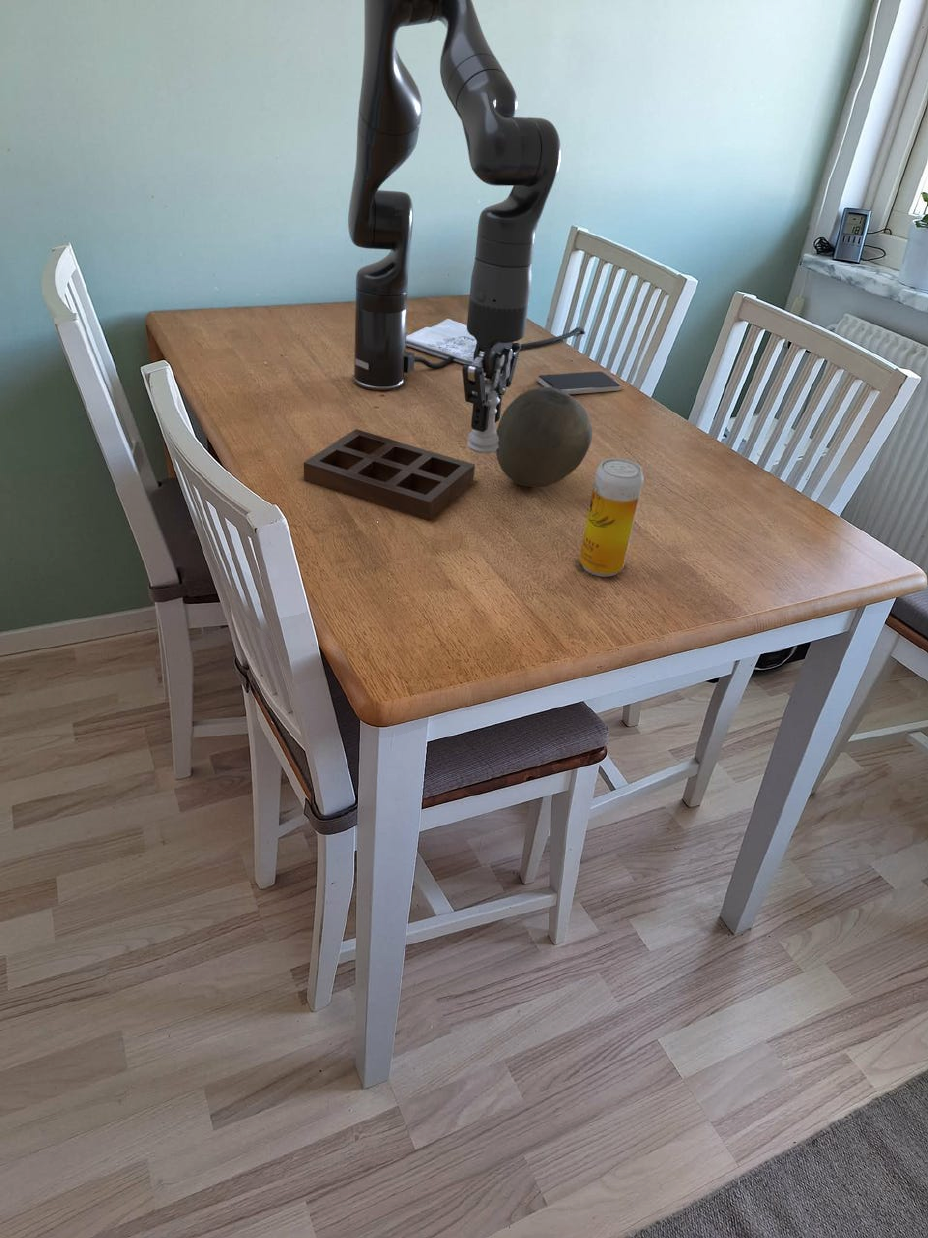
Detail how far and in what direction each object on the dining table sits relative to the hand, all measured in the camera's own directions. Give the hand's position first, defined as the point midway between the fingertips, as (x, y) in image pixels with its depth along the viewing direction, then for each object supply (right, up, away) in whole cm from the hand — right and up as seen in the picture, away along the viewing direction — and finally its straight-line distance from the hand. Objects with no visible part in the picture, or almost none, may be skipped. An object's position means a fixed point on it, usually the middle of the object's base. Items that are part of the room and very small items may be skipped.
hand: (485, 424), depth 122 cm
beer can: (+16, -20, 0) cm, 25 cm away
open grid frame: (-14, -6, +15) cm, 21 cm away
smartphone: (+20, +19, +55) cm, 61 cm away
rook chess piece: (0, -3, +2) cm, 4 cm away
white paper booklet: (-4, +31, +68) cm, 75 cm away
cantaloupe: (+8, -5, +19) cm, 21 cm away
